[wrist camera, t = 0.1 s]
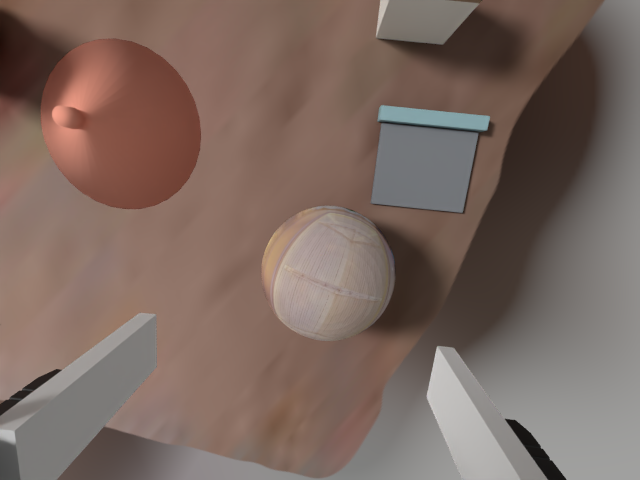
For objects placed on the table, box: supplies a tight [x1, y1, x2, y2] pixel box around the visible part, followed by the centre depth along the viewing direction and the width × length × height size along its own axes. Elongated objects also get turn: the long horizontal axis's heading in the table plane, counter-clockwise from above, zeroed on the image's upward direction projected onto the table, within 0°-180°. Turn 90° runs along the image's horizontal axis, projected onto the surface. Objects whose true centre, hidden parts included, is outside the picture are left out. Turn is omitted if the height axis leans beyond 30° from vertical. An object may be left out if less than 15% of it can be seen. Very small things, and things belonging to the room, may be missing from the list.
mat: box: [371, 123, 479, 213], centre depth 40 cm, size 10×12×1 cm
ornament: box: [261, 206, 395, 341], centre depth 35 cm, size 15×15×15 cm
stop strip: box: [378, 105, 490, 132], centre depth 38 cm, size 2×13×2 cm, turn 85°
